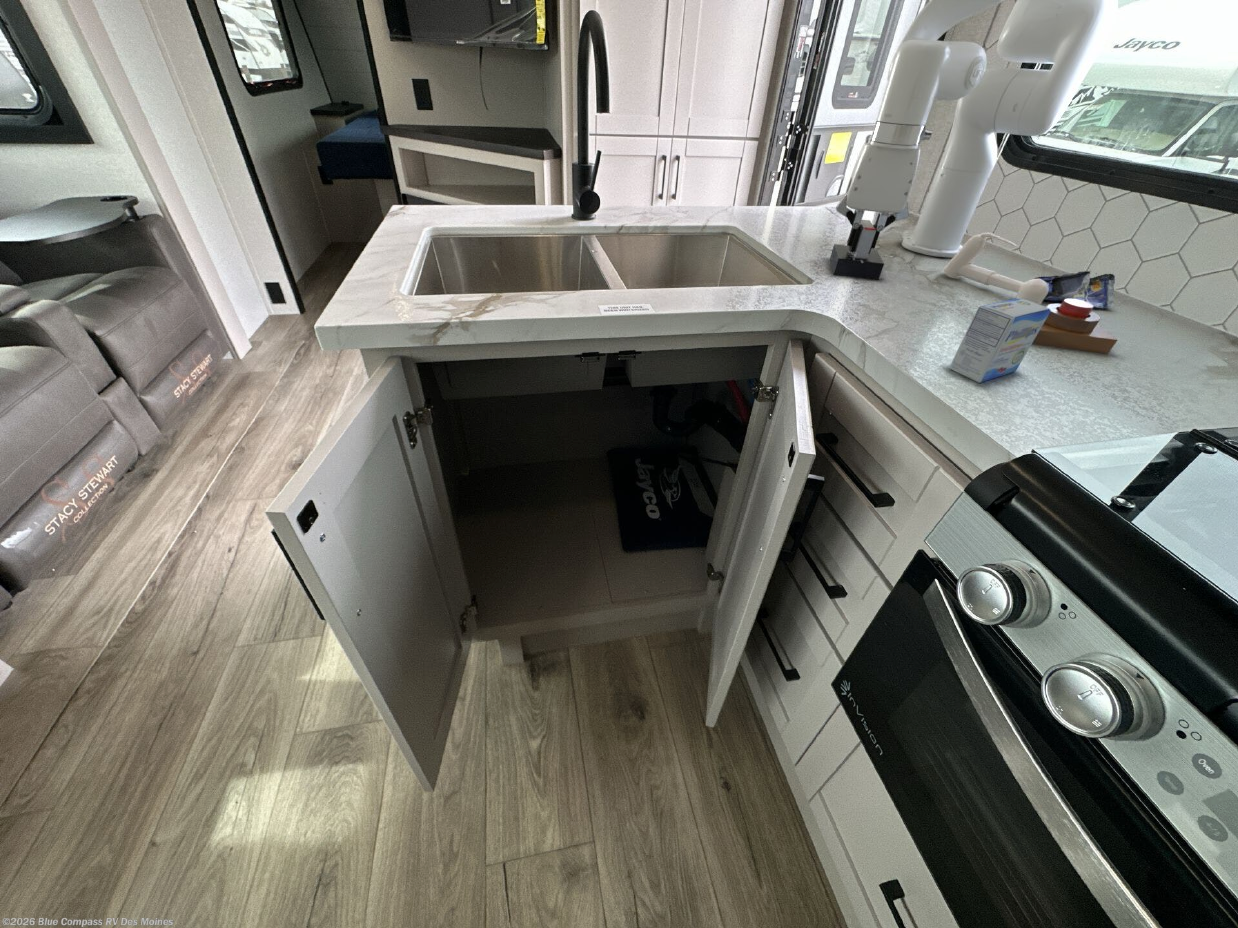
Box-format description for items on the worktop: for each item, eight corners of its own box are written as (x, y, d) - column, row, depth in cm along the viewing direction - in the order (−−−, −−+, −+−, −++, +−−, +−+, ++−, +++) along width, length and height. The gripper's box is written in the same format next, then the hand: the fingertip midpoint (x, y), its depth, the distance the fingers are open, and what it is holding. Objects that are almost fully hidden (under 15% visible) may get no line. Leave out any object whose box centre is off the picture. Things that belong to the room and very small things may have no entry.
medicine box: (978, 384, 64) (1015, 318, 58) (946, 368, 67) (978, 304, 62) (1015, 373, 67) (1053, 308, 62) (983, 358, 70) (1017, 295, 65)
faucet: (1006, 331, 90) (1056, 284, 82) (938, 268, 98) (977, 220, 90) (1020, 328, 91) (1070, 281, 83) (952, 266, 99) (992, 218, 91)
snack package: (1086, 320, 83) (1119, 306, 88) (1103, 279, 80) (1136, 267, 85) (1007, 306, 93) (1041, 295, 97) (1019, 269, 89) (1053, 259, 94)
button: (1052, 308, 76) (1059, 297, 75) (1079, 312, 76) (1087, 300, 74) (1063, 317, 73) (1070, 305, 72) (1091, 321, 73) (1098, 309, 72)
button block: (1011, 323, 81) (1025, 298, 78) (1082, 332, 79) (1098, 306, 77) (1030, 344, 74) (1046, 317, 72) (1107, 354, 73) (1126, 327, 70)
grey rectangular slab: (850, 246, 100) (859, 217, 97) (861, 248, 100) (870, 219, 96) (855, 258, 94) (864, 228, 91) (866, 259, 94) (876, 229, 90)
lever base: (818, 256, 104) (822, 240, 102) (881, 264, 102) (887, 247, 100) (822, 275, 95) (827, 257, 93) (891, 283, 93) (898, 266, 91)
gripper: (941, 137, 87) (899, 250, 98) (844, 130, 89) (814, 241, 101) (953, 142, 81) (907, 262, 92) (848, 134, 84) (816, 251, 95)
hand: (859, 250), depth 97 cm, fingers closed on grey rectangular slab, 2 cm apart
